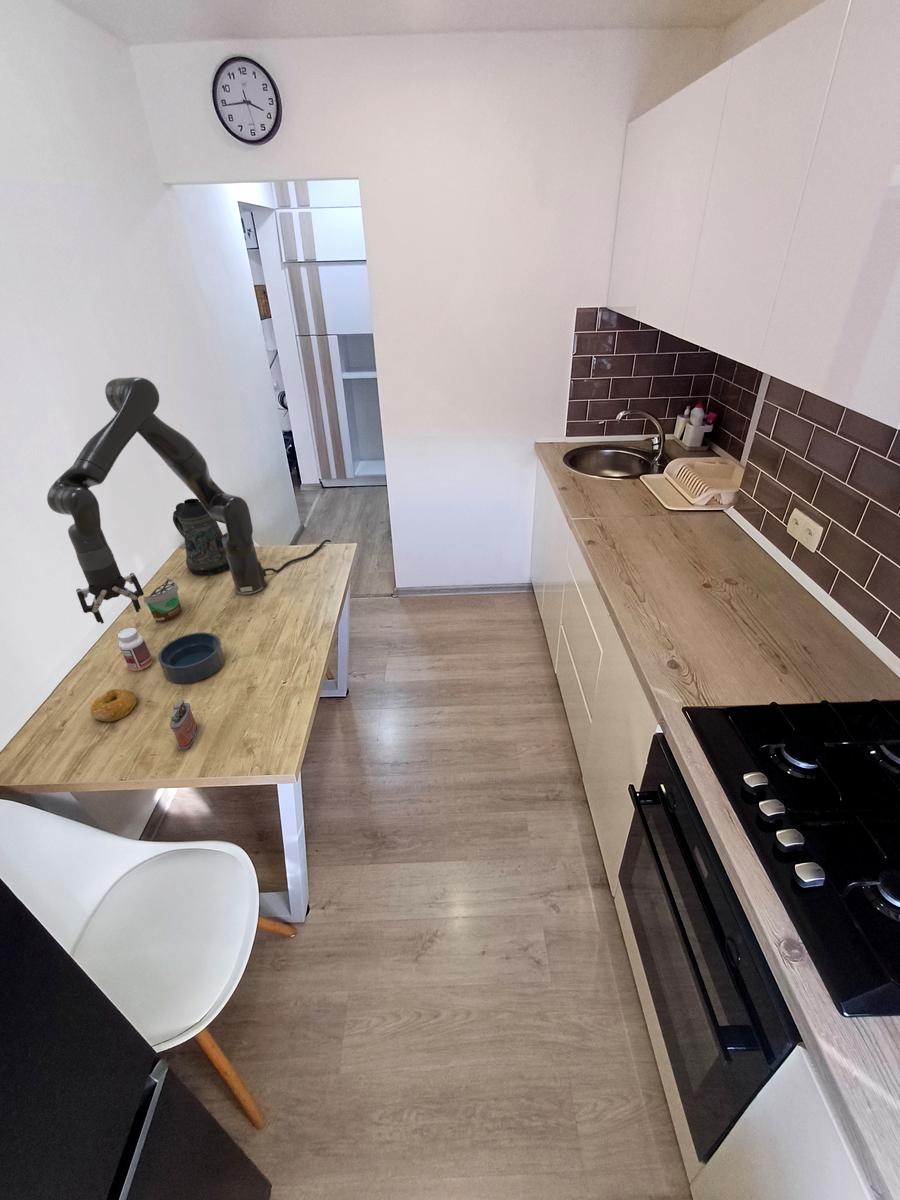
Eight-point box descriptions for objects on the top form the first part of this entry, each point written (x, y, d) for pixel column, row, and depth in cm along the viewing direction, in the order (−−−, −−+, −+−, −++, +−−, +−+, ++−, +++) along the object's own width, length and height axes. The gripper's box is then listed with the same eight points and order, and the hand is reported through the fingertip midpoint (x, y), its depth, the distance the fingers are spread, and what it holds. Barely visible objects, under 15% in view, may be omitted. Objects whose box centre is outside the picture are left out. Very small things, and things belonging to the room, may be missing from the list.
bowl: (215, 642, 167) (210, 625, 164) (233, 669, 156) (227, 651, 153) (159, 664, 159) (152, 647, 156) (173, 693, 148) (166, 675, 145)
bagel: (147, 697, 148) (141, 683, 145) (118, 727, 139) (111, 713, 136) (114, 693, 150) (108, 679, 147) (84, 722, 141) (76, 708, 138)
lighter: (187, 726, 138) (174, 695, 133) (201, 725, 138) (189, 693, 133) (176, 751, 131) (162, 719, 126) (191, 750, 131) (178, 718, 126)
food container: (170, 626, 175) (160, 599, 170) (153, 624, 176) (142, 597, 171) (193, 605, 185) (184, 578, 180) (176, 603, 187) (167, 577, 181)
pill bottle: (152, 655, 163) (139, 623, 157) (153, 667, 158) (140, 635, 152) (128, 661, 161) (114, 630, 155) (128, 674, 156) (114, 641, 150)
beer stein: (227, 575, 201) (208, 509, 188) (173, 578, 201) (150, 512, 188) (241, 553, 215) (224, 491, 202) (190, 556, 215) (170, 493, 202)
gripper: (67, 577, 136) (92, 632, 145) (131, 559, 143) (151, 613, 152) (63, 565, 141) (88, 619, 150) (125, 548, 148) (145, 601, 157)
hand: (120, 616), depth 151 cm, fingers open, 8 cm apart
